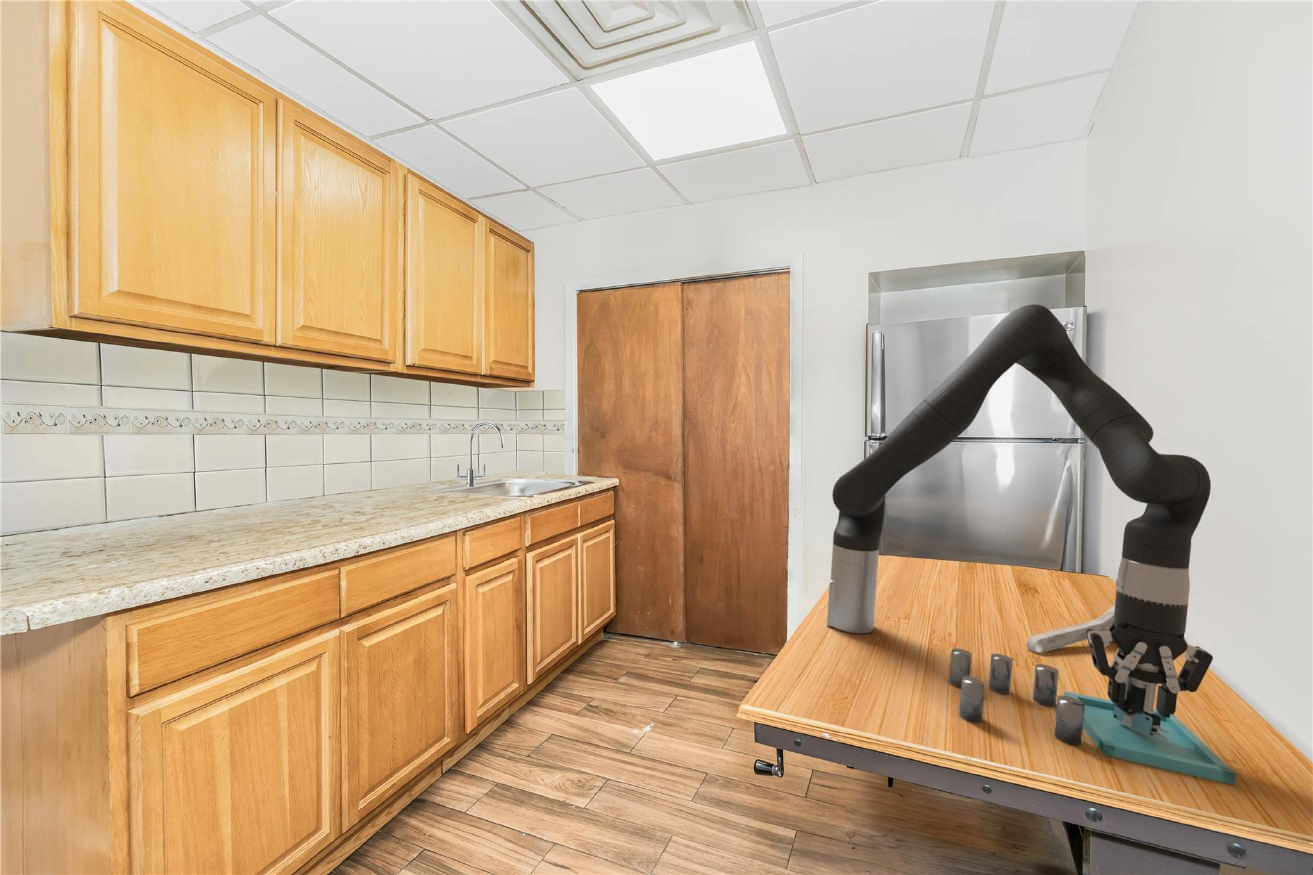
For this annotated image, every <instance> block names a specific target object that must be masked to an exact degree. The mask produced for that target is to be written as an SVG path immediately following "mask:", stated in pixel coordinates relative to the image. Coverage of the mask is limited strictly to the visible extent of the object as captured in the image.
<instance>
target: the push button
mask: <svg viewBox="0 0 1313 875" xmlns="http://www.w3.org/2000/svg"><path fill="white" fill-rule="evenodd" d="M1159 670H1161V669H1159V667H1154V666H1152V664H1148V663H1145V664H1137V665H1136V667H1135V668H1134V670H1133V671H1130V673H1129V675H1128V677H1127V678H1126V680H1125V682H1124V683H1125V684H1126V692H1125V703H1124V708H1119V707H1116V706H1115V705H1114V711H1113V717H1114V718H1115V719H1117V720H1119V721H1120V722H1122V723H1123V724H1124V725H1126V726H1128V727H1132V728H1133V729H1135V730H1137V731H1139V732H1141V733H1143V734H1145V735H1157V736H1159V737H1161V736H1162V737H1161V738H1163V737H1164V738H1163V739H1165V740H1168V738H1166V737H1165V736H1163V735H1161V734H1160V733H1158V732H1157V730H1160V731H1162V732H1164V733H1170V732H1168V731H1166V730H1164V729H1162V728H1161V727H1160V722H1161V718H1160V717H1159V716H1157V715H1155V714H1154V712H1155V711H1154V710H1153V709H1154V704H1155V699H1156V698H1155V696H1156V691H1157V687H1158V685H1161V684H1163V683H1164V681H1165V678H1164V677H1165V674H1164V673H1162V672H1160V673H1159ZM1163 730H1164V731H1163Z"/></svg>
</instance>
